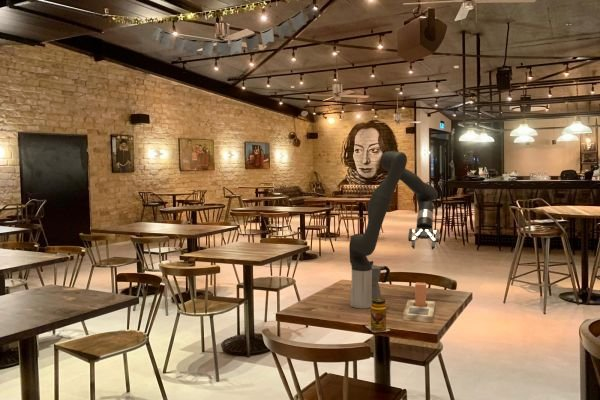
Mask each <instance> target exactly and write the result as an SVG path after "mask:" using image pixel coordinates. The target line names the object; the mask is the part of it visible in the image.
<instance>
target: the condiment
mask: <svg viewBox="0 0 600 400" xmlns="http://www.w3.org/2000/svg"><path fill="white" fill-rule="evenodd" d="M365 327H366V328H367V329H368V330H370V331H371V332H372V333H382V332H389V331H391V329H390V328H387V307H386V300H385V299H384V298H377V299H373V300H372V306H371V307H370V324H369V325H365Z"/></svg>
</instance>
